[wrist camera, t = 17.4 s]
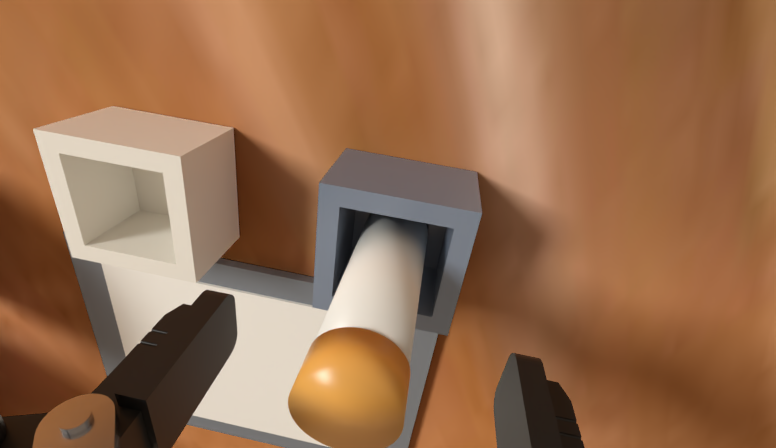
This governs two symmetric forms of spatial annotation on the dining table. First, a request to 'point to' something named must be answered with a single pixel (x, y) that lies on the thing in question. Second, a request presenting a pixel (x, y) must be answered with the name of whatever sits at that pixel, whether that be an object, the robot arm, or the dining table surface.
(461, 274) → the cup
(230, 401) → the writing board
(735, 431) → the dining table surface
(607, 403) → the dining table surface
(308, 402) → the marker
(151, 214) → the cup
